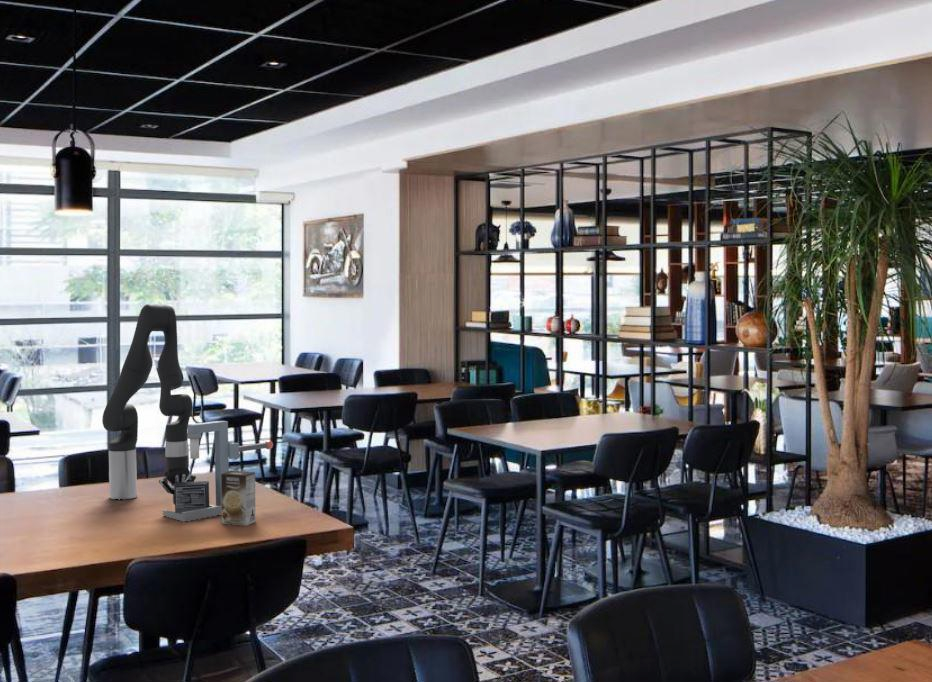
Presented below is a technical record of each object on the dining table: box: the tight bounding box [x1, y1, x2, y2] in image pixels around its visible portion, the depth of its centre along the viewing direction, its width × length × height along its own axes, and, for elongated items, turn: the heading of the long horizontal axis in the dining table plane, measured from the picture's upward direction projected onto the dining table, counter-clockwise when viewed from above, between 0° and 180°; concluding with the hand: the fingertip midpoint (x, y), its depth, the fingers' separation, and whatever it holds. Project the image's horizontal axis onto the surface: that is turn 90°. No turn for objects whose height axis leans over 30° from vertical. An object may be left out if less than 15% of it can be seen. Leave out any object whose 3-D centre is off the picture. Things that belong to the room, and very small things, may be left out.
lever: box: [228, 440, 274, 454], centre depth 347 cm, size 3×18×3 cm, turn 135°
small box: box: [174, 480, 210, 514], centre depth 336 cm, size 11×6×10 cm, turn 97°
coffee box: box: [221, 469, 257, 527], centre depth 322 cm, size 9×6×16 cm
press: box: [162, 420, 240, 523], centre depth 336 cm, size 13×23×30 cm, turn 135°
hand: (178, 505), depth 341 cm, fingers closed
